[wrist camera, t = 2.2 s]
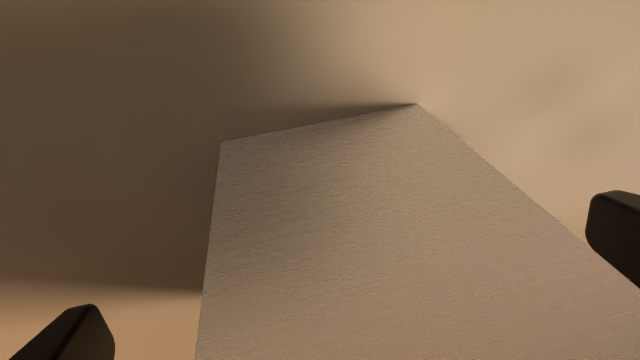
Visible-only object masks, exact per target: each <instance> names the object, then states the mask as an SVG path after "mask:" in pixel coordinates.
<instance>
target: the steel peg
mask: <svg viewBox="0 0 640 360" xmlns="http://www.w3.org/2000/svg"><path fill="white" fill-rule="evenodd" d="M194 360H640V289H639V288H638V287H637V286H636V285H634V284H633V283H632V282H631V281H630V280H628V279H627V278H626V277H625V276H624V275H622V274H621V273H620V272H619V271H618V270H616V269H615V268H614V267H613V266H612V265H610V264H609V263H608V262H607V261H606V260H604V259H603V258H602V257H601V256H600V255H598V254H597V253H596V252H595V251H594V250H592V249H591V248H590V247H589V246H588V245H586V244H585V243H584V242H583V241H582V240H580V239H579V238H578V237H577V236H576V235H574V234H573V233H572V232H571V231H570V230H568V229H567V228H566V227H565V226H564V225H562V224H561V223H560V222H559V221H558V220H557V219H555V218H554V217H553V216H552V215H551V214H549V213H548V212H547V211H546V210H545V209H543V208H542V207H541V206H540V205H539V204H537V203H536V202H535V201H534V200H533V199H531V198H530V197H529V196H528V195H527V194H525V193H524V192H523V191H522V190H521V189H519V188H518V187H517V186H516V185H515V184H513V183H512V182H511V181H510V180H509V179H507V178H506V177H505V176H504V175H503V174H501V173H500V172H499V171H498V170H497V169H495V168H494V167H493V166H492V165H491V164H489V163H488V162H487V161H486V160H485V159H483V158H482V157H481V156H480V155H479V154H477V153H476V152H475V151H474V150H473V149H471V148H470V147H469V146H468V145H467V144H465V143H464V142H463V141H462V140H461V139H459V138H458V137H457V136H456V135H455V134H453V133H452V132H451V131H450V130H449V129H447V128H446V127H445V126H444V125H443V124H441V123H440V122H439V121H438V120H437V119H435V118H434V117H433V116H432V115H431V114H429V113H428V112H427V111H426V110H425V109H423V108H422V107H421V106H420V105H419V104H414V105H409V106H404V107H398V108H393V109H388V110H383V111H378V112H373V113H368V114H362V115H357V116H352V117H347V118H342V119H337V120H332V121H326V122H321V123H316V124H311V125H306V126H301V127H296V128H290V129H285V130H280V131H275V132H270V133H265V134H260V135H254V136H249V137H244V138H239V139H234V140H229V141H224V142H221V146H220V154H219V162H218V171H217V179H216V187H215V195H214V203H213V211H212V220H211V228H210V236H209V244H208V252H207V260H206V268H205V277H204V285H203V293H202V301H201V309H200V317H199V326H198V334H197V342H196V350H195V358H194Z"/></svg>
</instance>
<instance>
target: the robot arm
mask: <svg viewBox="0 0 640 360" xmlns="http://www.w3.org/2000/svg"><path fill="white" fill-rule="evenodd" d="M585 235H586V239H587V241H588V243H589V245H590V247H591V248H592V249H593V250H594V251H595V252H596V253H597V254H598V255H600V256H601V257H602V258H603V259H604V260H606V261H607V262H608V263H609V264H610V265H612V266H613V267H614V268H615V269H616V270H618V271H619V272H620V273H621V274H622V275H624V276H625V277H626V278H627V279H628V280H630V281H631V282H632V283H633V284H634V285H636V286H637V287H638V288H639V289H640V195H637V194H633V193H629V192H625V191H620V190H613V191H609V192H604V193H599V194H596V195H595V196H593V198H592V199H591V202H590V206H589V212H588V217H587V223H586V229H585ZM114 355H115V342H114V338H113V335H112V333H111V332H110V330H109V328H108V326H107V324H106V322H105V320H104V318H103V316H102V314H101V313H100V311H99V309H98V308H97V307H96V306H95V305H93V304H86V305H81V306H77V307H72V308H69V309H67V310H65V311H64V312H63V313H62V314H61V315H59V316H58V317H57V318H56V319H55V320H54V321H52V322H51V323H50V324H49V325H48V326H47V327H46V328H44V329H43V330H42V331H41V332H40V333H39V334H38V335H36V336H35V337H34V338H33V339H32V340H31V341H29V342H28V343H27V344H26V345H25V346H24V347H23V348H21V349H20V350H19V351H18V352H17V353H16V354H15V355H13V356H12V357H11V358H10V359H9V360H114Z"/></svg>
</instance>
